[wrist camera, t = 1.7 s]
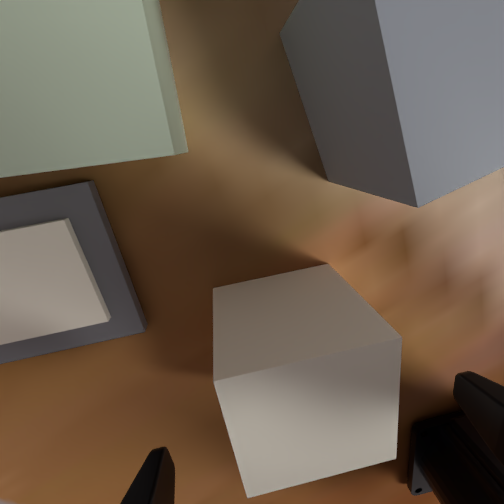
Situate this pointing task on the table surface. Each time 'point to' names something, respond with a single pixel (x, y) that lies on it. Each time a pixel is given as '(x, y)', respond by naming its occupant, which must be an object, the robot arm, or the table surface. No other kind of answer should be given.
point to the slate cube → (401, 91)
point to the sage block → (85, 85)
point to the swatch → (61, 274)
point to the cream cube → (304, 378)
